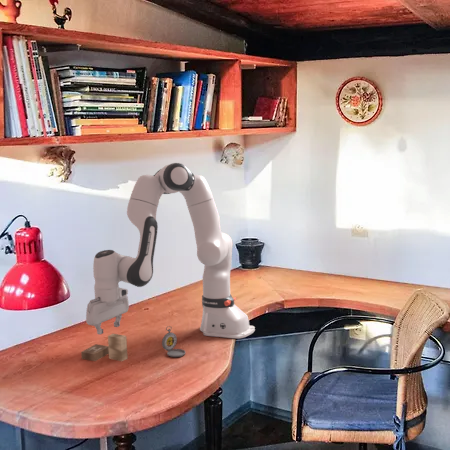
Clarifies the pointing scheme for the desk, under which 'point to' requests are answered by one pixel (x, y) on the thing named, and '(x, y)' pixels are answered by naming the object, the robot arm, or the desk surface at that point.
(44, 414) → the desk surface
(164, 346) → the pocket watch
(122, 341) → the wooden letter t block
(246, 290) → the desk surface
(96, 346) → the wooden letter h block
